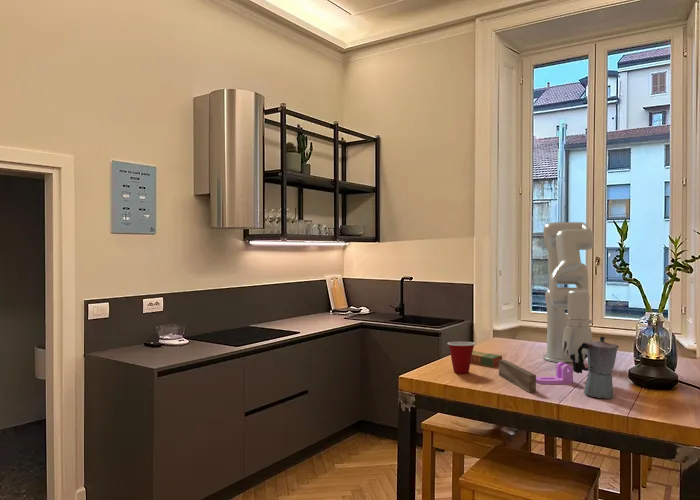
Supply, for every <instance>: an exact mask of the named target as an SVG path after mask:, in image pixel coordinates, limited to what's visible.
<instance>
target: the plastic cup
mask: <svg viewBox="0 0 700 500" xmlns="http://www.w3.org/2000/svg"><path fill="white" fill-rule="evenodd" d="M475 345H476V343H475V342H472V341H450V342H447V346H448V348H449V352H450V357H451V364H452V369H453V373H454V374H459V375H466V374H469V372H470V367H471V365H472V364H471V358H472V352H473V351H474V347H475Z"/></svg>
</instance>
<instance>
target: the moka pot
mask: <svg viewBox="0 0 700 500" xmlns="http://www.w3.org/2000/svg"><path fill="white" fill-rule="evenodd" d="M599 338H600V340H599V341H593V342H589V343H583V344H582V345H581V346H580V347H579V349H578V354H579V358H580V363H581V367H582V371H585V372H588V373H587V377H586V381H585V386H584V389H583V390H584V391H583V392H584V394H585V395H586V396H589V397H592V398H597V399H606V400H607V399H613V398H614V388H613V387H614V386H613V375H612V374H613V370H614V369H615V364H616V359H617V353H618V352H617V351H618V348H620V346H619V345H618V344H614V343H611V342H610V343H609V342H606V341H605V339H606V336H599ZM583 348H585V349H587V356H588V357H587V365H588V367H586V366H585V363H584V362H585V361H584V362H583V354H582V349H583Z"/></svg>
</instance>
